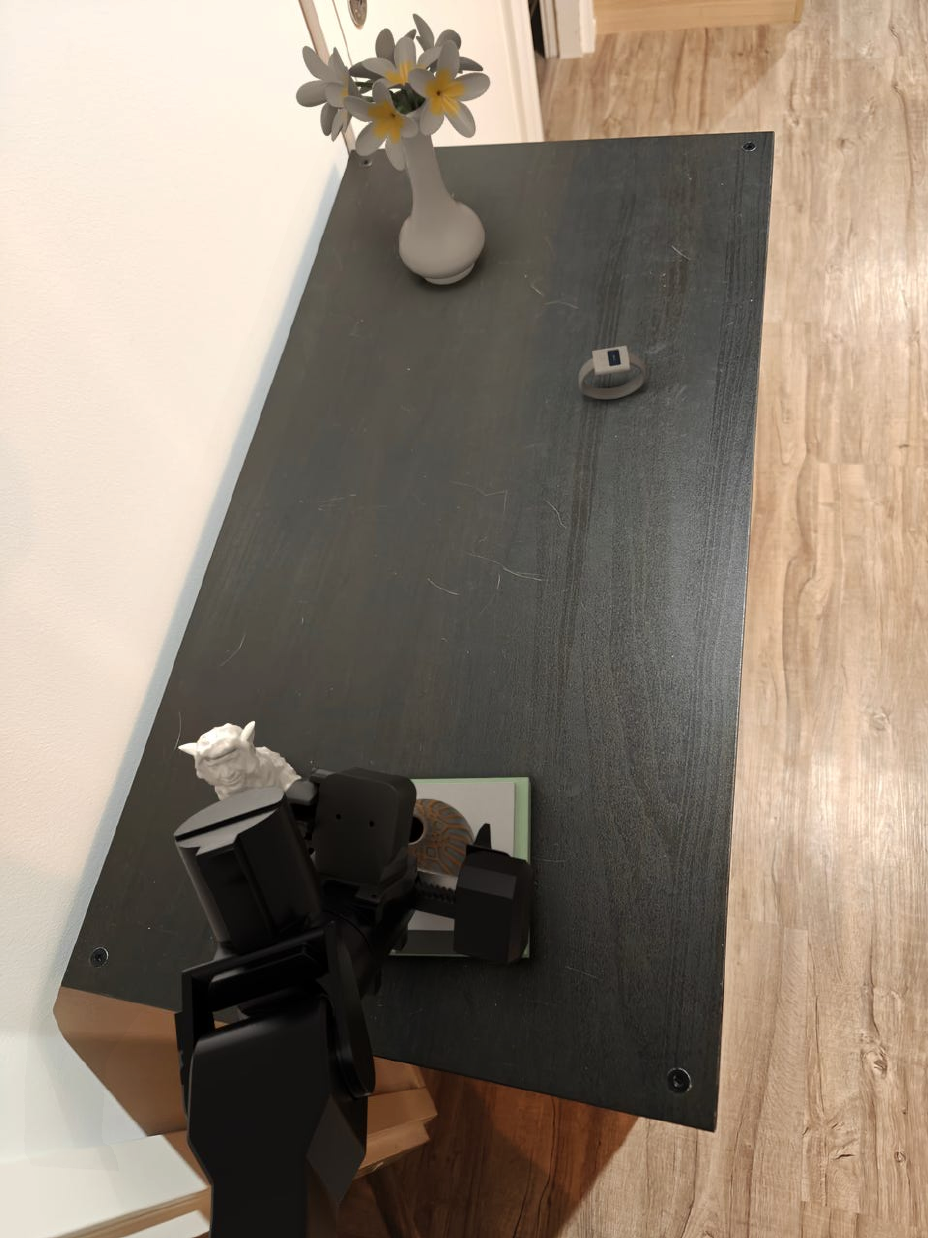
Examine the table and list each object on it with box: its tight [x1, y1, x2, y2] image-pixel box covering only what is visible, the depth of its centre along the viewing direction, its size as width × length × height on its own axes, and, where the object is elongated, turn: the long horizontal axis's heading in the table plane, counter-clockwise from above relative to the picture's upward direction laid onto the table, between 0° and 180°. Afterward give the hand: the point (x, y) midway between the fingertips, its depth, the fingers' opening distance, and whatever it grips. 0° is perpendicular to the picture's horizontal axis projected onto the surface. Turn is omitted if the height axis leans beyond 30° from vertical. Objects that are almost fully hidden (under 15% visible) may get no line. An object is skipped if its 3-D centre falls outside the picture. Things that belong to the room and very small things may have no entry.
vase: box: [407, 798, 475, 876], centre depth 67 cm, size 7×7×9 cm
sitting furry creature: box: [177, 720, 302, 801], centre depth 72 cm, size 10×9×12 cm
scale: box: [389, 776, 532, 959], centre depth 71 cm, size 13×13×2 cm
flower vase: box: [295, 13, 491, 286], centre depth 92 cm, size 13×18×25 cm
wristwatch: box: [578, 345, 647, 400], centre depth 88 cm, size 6×3×5 cm, turn 92°
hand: (425, 816), depth 65 cm, fingers open, 9 cm apart
